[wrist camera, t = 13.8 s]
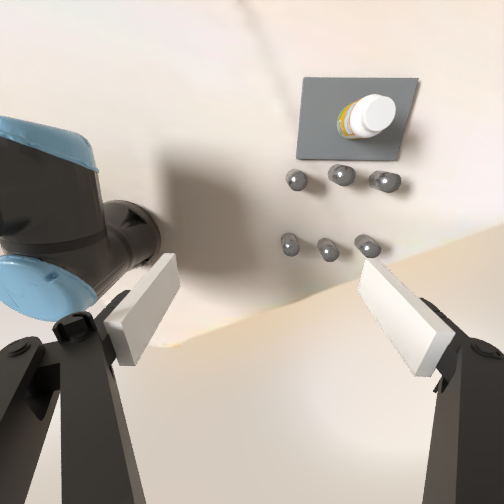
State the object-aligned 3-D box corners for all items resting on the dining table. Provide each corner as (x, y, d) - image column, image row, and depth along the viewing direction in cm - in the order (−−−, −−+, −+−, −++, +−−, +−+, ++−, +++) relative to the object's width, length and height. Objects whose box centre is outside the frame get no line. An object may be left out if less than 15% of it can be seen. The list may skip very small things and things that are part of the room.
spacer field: (280, 250, 50) (282, 260, 45) (286, 163, 42) (290, 165, 37) (366, 252, 49) (377, 263, 45) (389, 165, 41) (405, 167, 37)
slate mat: (295, 158, 41) (296, 158, 40) (303, 79, 36) (304, 77, 35) (393, 159, 41) (396, 160, 40) (414, 79, 36) (418, 78, 35)
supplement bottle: (375, 112, 37) (411, 101, 28) (356, 144, 39) (384, 144, 30) (347, 96, 36) (375, 80, 27) (330, 131, 38) (350, 126, 30)
